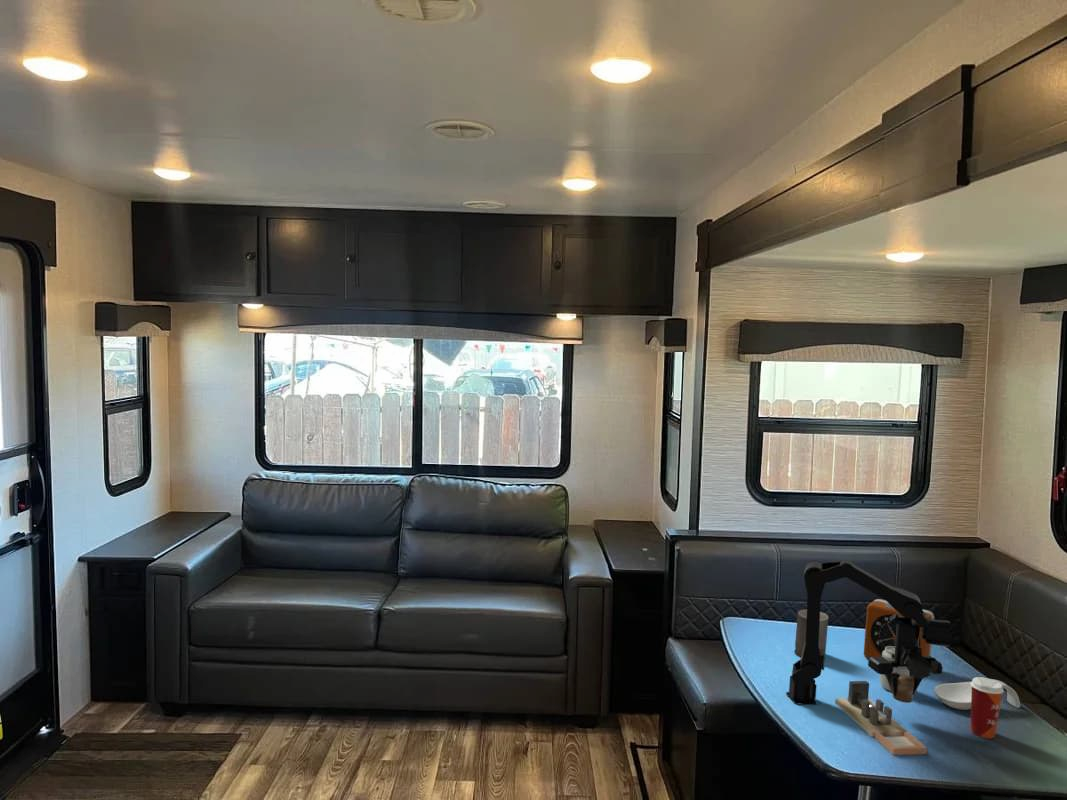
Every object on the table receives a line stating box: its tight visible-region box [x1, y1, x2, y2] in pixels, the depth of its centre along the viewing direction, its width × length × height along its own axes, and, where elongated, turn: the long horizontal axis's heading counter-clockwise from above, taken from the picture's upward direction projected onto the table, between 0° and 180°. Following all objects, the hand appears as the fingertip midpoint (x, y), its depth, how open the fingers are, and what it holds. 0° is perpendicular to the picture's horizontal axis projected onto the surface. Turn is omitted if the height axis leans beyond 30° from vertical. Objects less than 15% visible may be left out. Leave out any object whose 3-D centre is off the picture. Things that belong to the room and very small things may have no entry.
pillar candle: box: [793, 609, 830, 659], centre depth 256 cm, size 10×10×15 cm
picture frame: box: [875, 731, 928, 756], centre depth 199 cm, size 9×8×2 cm
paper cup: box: [970, 676, 1005, 739], centre depth 208 cm, size 8×8×14 cm
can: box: [879, 646, 909, 692], centre depth 233 cm, size 8×8×12 cm
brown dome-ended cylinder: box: [892, 674, 914, 704], centre depth 214 cm, size 5×5×6 cm
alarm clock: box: [863, 598, 935, 660], centre depth 252 cm, size 18×9×21 cm, turn 49°
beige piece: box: [834, 697, 908, 738], centre depth 214 cm, size 10×19×5 cm, turn 7°
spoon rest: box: [934, 678, 1021, 711], centre depth 225 cm, size 24×12×7 cm, turn 96°
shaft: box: [847, 680, 888, 724], centre depth 214 cm, size 5×14×6 cm, turn 7°
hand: (902, 695), depth 214 cm, fingers closed on brown dome-ended cylinder, 5 cm apart
